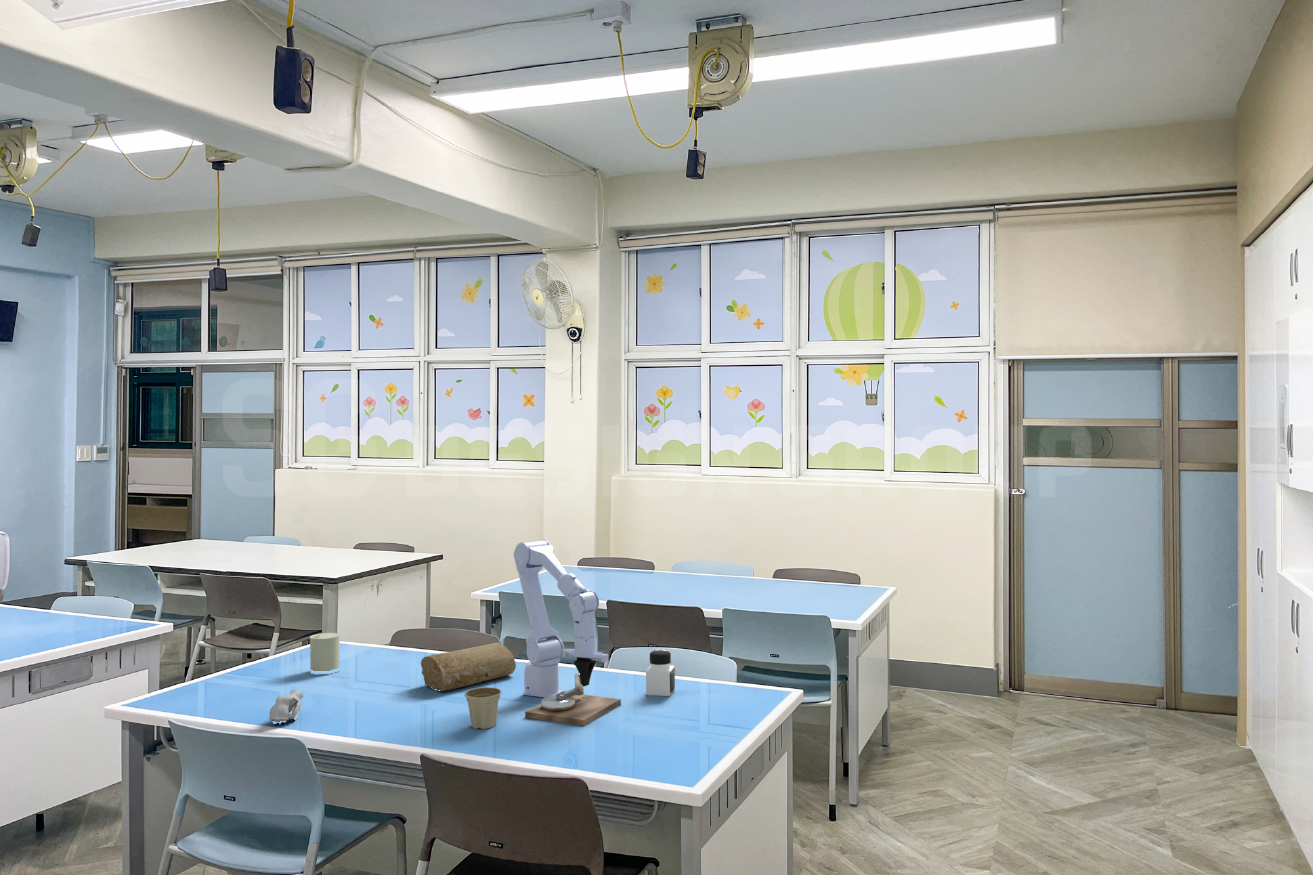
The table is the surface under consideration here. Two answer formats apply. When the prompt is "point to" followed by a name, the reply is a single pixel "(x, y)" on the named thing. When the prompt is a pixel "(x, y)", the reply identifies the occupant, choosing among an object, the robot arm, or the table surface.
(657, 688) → the medicine bottle
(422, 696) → the table surface
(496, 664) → the core sample
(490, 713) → the flower pot
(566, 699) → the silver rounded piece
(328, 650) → the can
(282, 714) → the skull
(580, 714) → the stand board
